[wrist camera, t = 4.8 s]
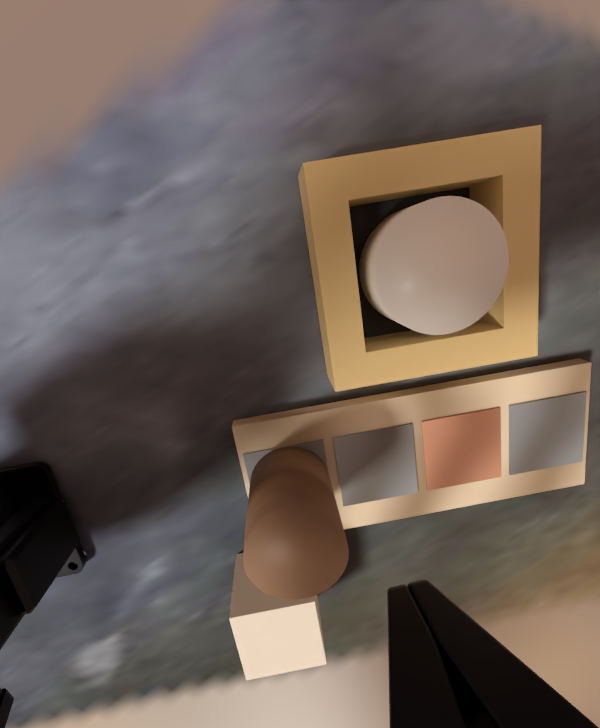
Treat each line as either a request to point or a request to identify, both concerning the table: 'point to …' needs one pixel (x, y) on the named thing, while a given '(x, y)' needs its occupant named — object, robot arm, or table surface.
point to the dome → (435, 265)
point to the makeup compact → (438, 441)
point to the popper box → (412, 178)
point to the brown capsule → (293, 526)
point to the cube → (273, 629)
